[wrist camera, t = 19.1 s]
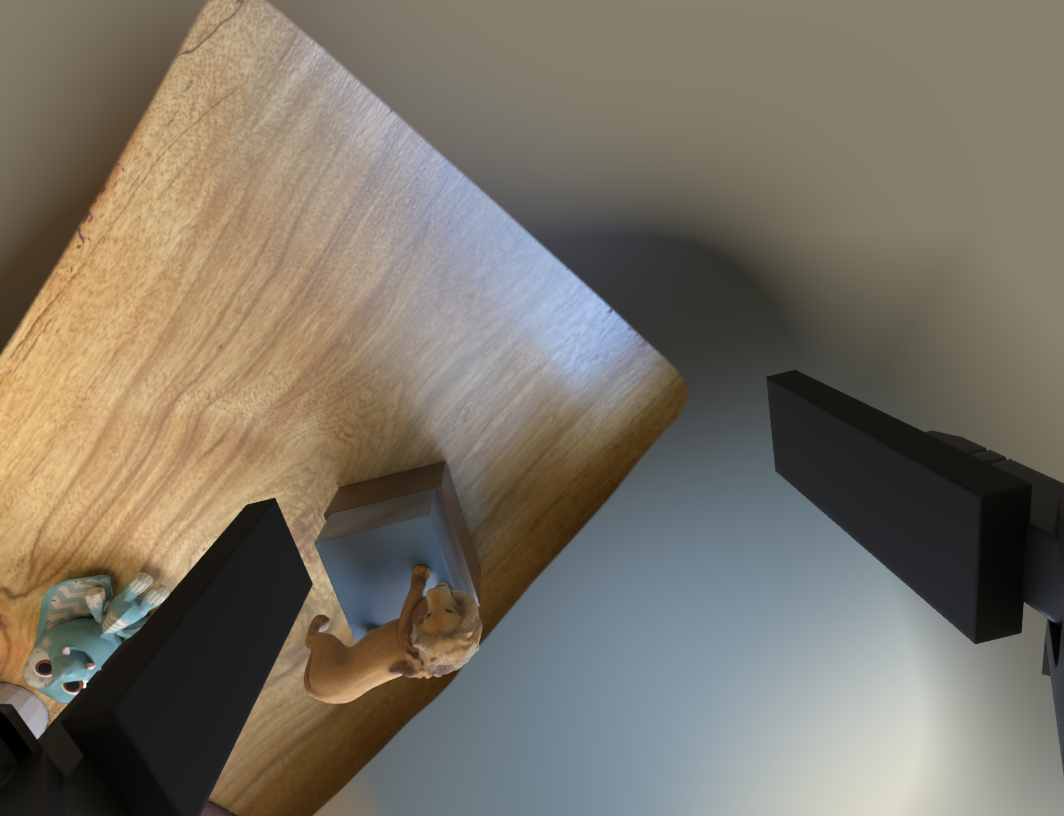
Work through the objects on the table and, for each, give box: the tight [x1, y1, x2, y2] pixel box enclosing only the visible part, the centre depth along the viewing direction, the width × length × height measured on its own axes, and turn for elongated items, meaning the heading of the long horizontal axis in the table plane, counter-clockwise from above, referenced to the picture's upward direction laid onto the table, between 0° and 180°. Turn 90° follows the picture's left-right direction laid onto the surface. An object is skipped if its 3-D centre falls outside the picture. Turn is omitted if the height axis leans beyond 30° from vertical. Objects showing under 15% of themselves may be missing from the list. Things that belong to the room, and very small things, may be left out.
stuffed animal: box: [23, 572, 170, 703], centre depth 45 cm, size 11×7×12 cm
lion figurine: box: [304, 565, 482, 703], centre depth 35 cm, size 15×5×9 cm, turn 125°
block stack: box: [315, 462, 481, 642], centre depth 43 cm, size 9×11×8 cm
